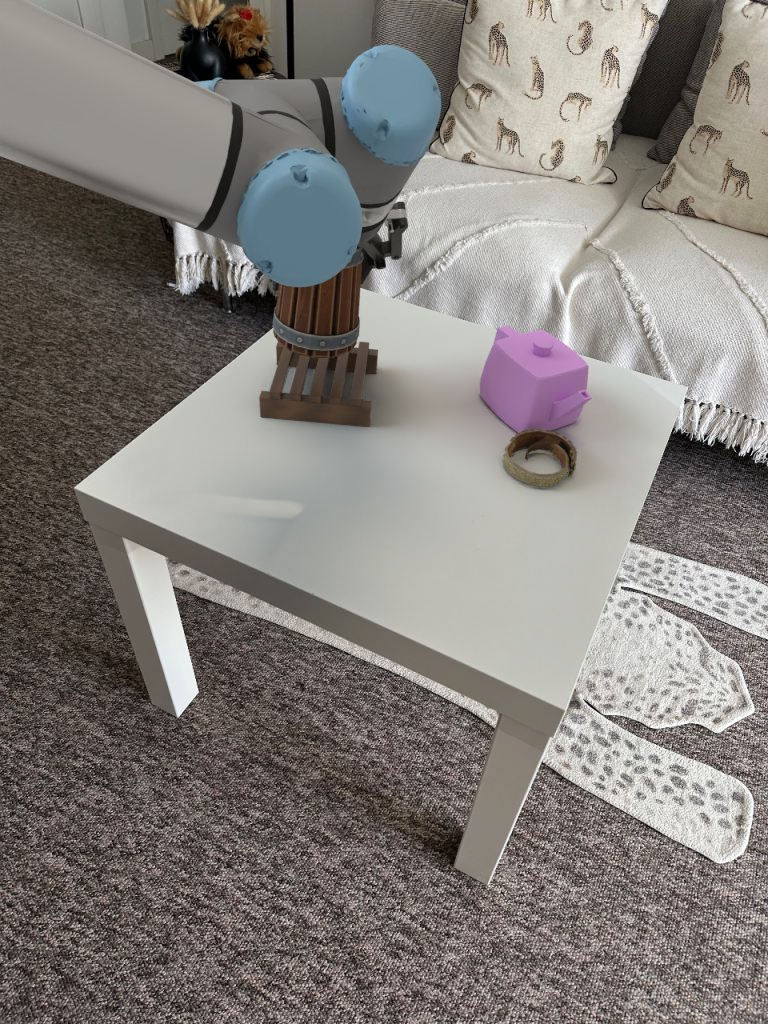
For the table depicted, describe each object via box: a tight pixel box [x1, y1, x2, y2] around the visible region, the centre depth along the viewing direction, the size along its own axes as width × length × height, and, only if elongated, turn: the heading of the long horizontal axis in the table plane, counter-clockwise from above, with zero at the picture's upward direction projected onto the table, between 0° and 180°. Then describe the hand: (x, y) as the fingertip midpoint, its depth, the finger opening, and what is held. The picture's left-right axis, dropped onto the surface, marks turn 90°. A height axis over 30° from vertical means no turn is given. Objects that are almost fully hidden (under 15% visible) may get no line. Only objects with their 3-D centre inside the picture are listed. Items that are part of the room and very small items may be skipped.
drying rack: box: [258, 341, 379, 428], centre depth 94 cm, size 14×14×4 cm
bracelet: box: [502, 429, 578, 488], centre depth 86 cm, size 9×9×3 cm
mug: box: [272, 246, 364, 358], centre depth 84 cm, size 16×11×15 cm
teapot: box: [479, 324, 593, 433], centre depth 92 cm, size 18×10×10 cm, turn 28°
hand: (317, 276), depth 87 cm, fingers closed on mug, 10 cm apart
